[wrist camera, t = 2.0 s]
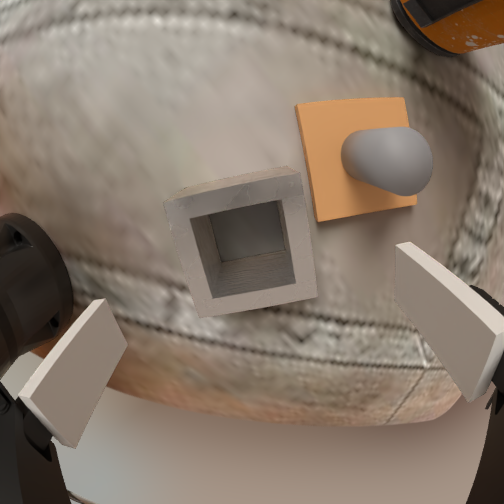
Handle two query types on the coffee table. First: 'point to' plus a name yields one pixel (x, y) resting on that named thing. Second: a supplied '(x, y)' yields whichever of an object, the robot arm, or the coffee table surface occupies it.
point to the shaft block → (362, 156)
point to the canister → (452, 24)
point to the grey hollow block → (251, 268)
